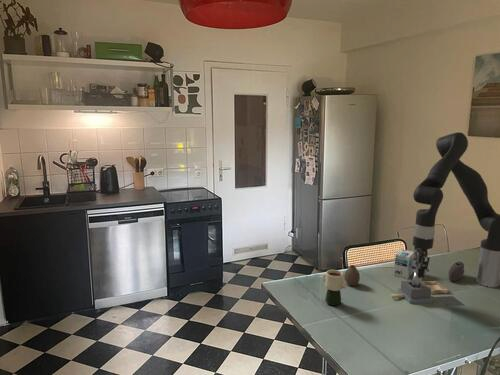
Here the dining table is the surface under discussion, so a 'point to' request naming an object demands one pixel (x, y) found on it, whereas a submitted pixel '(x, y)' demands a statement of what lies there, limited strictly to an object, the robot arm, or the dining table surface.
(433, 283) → the tray
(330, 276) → the character mug
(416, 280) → the grey tabbed block
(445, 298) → the mat
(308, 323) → the dining table surface
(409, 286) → the block
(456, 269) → the perforated stone tool
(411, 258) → the light bulb box
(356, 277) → the vase
